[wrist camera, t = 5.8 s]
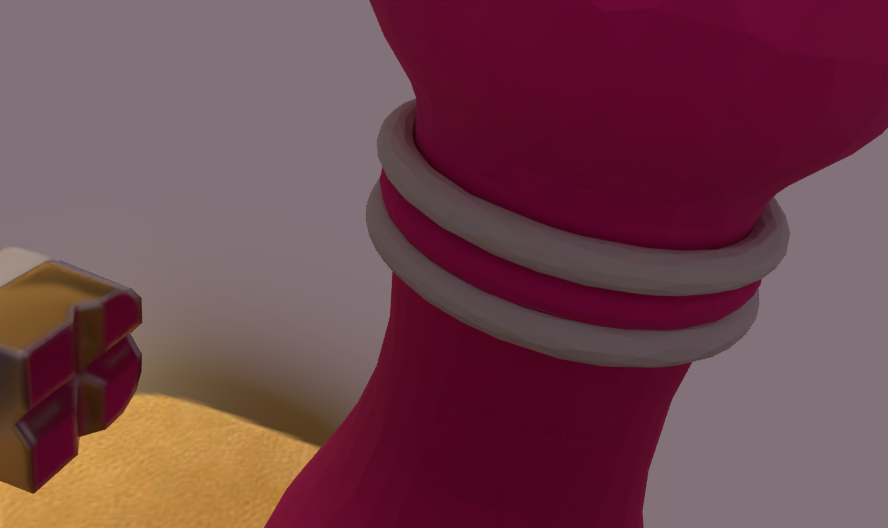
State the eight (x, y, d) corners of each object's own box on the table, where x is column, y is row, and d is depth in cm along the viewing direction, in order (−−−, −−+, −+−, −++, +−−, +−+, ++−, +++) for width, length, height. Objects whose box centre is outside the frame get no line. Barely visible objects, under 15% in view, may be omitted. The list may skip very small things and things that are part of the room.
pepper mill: (546, 624, 20) (950, -378, 10) (607, 1004, 14) (1825, -667, 4) (251, 596, 19) (382, -537, 9) (171, 989, 13) (321, -1253, 3)
